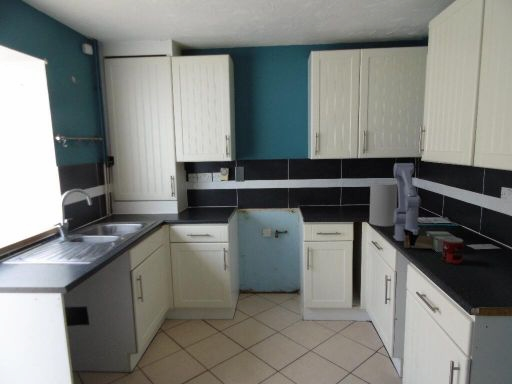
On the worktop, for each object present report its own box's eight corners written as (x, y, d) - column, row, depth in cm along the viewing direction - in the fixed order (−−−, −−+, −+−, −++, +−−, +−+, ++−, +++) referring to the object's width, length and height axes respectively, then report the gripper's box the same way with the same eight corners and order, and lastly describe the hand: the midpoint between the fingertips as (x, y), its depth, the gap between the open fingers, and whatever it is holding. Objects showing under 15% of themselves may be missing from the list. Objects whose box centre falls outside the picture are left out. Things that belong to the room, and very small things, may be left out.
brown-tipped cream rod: (404, 246, 175) (404, 235, 174) (431, 247, 173) (432, 236, 172) (405, 247, 173) (405, 236, 172) (433, 248, 171) (434, 237, 170)
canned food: (443, 257, 159) (444, 235, 157) (462, 261, 154) (464, 238, 152) (440, 262, 153) (441, 239, 151) (460, 266, 148) (462, 242, 146)
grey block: (425, 244, 179) (425, 231, 178) (446, 244, 178) (447, 231, 176) (435, 253, 165) (436, 238, 164) (458, 253, 164) (459, 239, 163)
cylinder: (398, 226, 217) (400, 184, 213) (371, 225, 221) (372, 184, 217) (393, 220, 234) (394, 181, 230) (367, 219, 238) (368, 181, 234)
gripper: (424, 222, 164) (423, 248, 166) (415, 216, 178) (414, 240, 180) (410, 222, 165) (408, 248, 167) (401, 216, 179) (400, 240, 181)
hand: (410, 244), depth 173 cm, fingers open, 4 cm apart
